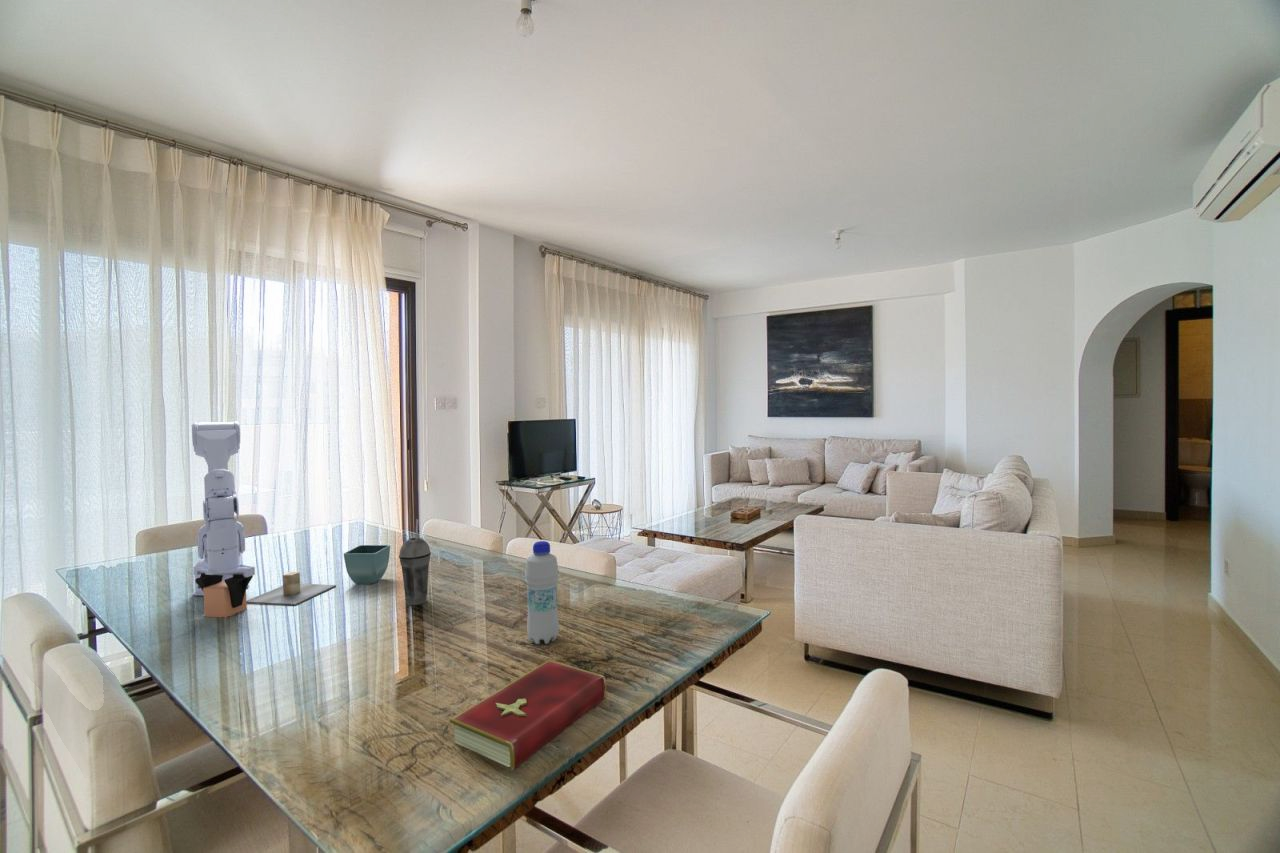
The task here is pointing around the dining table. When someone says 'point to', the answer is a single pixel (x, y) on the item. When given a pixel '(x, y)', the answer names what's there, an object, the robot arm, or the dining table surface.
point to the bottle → (542, 594)
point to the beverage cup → (415, 568)
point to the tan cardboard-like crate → (220, 601)
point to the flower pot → (367, 563)
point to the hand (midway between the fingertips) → (225, 605)
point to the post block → (290, 592)
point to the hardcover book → (528, 712)
